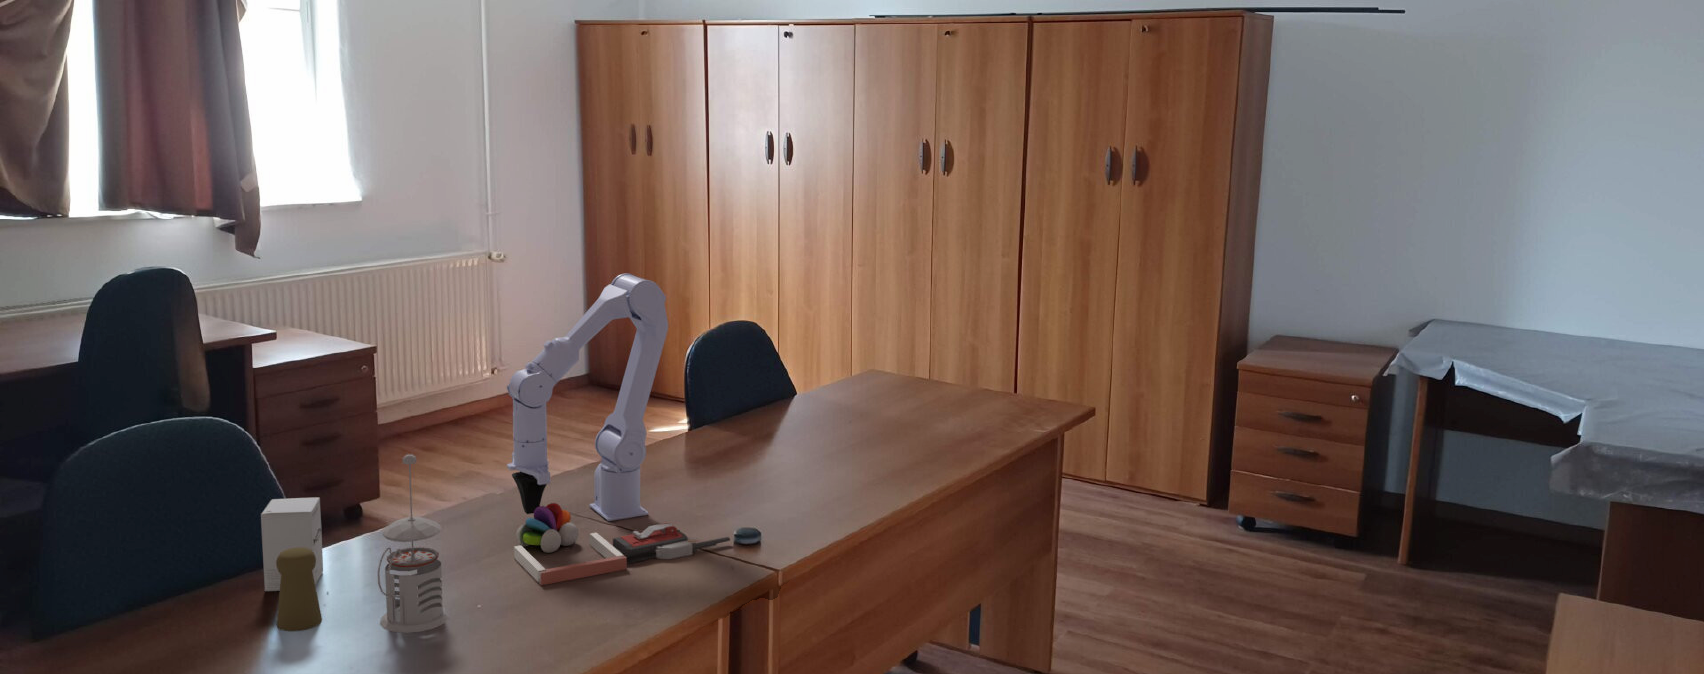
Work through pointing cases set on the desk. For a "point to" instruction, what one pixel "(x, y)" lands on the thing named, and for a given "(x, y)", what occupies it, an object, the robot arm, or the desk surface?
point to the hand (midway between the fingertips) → (531, 512)
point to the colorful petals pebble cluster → (548, 529)
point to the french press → (409, 608)
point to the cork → (297, 590)
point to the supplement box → (290, 534)
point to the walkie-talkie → (659, 543)
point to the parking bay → (569, 572)
